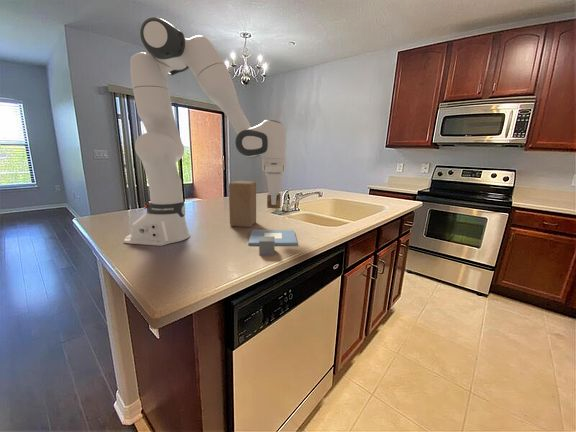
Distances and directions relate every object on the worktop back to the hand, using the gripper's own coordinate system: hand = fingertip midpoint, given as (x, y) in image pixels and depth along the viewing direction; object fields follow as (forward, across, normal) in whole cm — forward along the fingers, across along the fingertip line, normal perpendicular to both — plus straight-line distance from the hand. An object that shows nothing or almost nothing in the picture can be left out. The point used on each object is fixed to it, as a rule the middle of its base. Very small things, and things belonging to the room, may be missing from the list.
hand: (273, 202), depth 98 cm
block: (+15, -20, -14) cm, 29 cm away
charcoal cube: (+14, +15, -2) cm, 21 cm away
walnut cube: (+2, 0, 0) cm, 2 cm away
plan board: (+14, 0, 0) cm, 14 cm away
